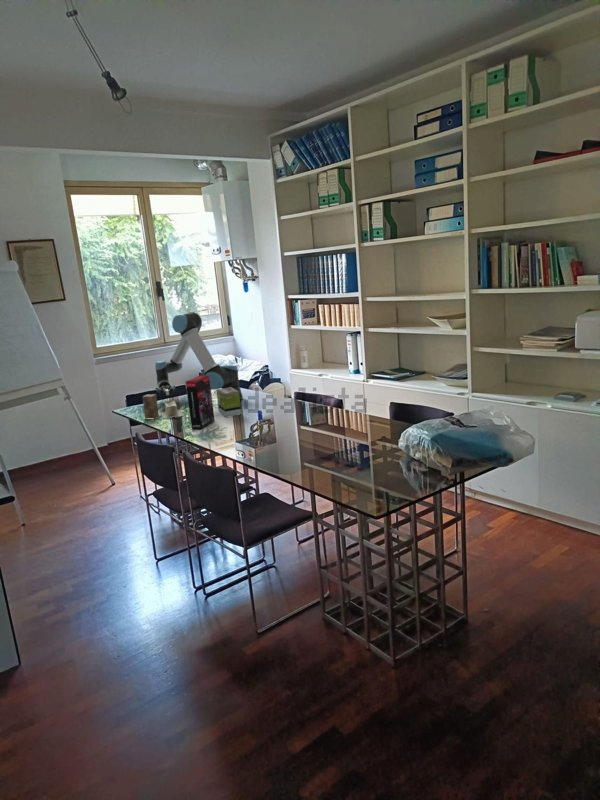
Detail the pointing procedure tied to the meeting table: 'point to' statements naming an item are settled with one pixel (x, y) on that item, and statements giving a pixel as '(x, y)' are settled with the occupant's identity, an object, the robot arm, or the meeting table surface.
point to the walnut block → (150, 406)
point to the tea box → (228, 401)
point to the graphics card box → (200, 402)
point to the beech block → (171, 408)
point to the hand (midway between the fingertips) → (167, 393)
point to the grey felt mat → (172, 416)
